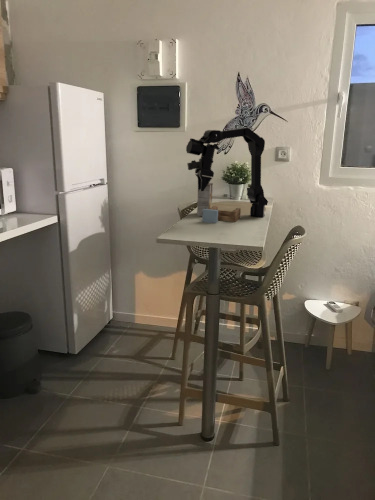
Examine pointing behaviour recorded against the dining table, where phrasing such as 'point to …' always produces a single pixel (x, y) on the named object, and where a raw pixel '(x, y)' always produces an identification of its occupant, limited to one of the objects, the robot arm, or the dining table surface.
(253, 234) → the dining table surface
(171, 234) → the dining table surface
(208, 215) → the blue-gray rectangular block
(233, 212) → the brown frame
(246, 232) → the dining table surface
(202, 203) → the coffee box
